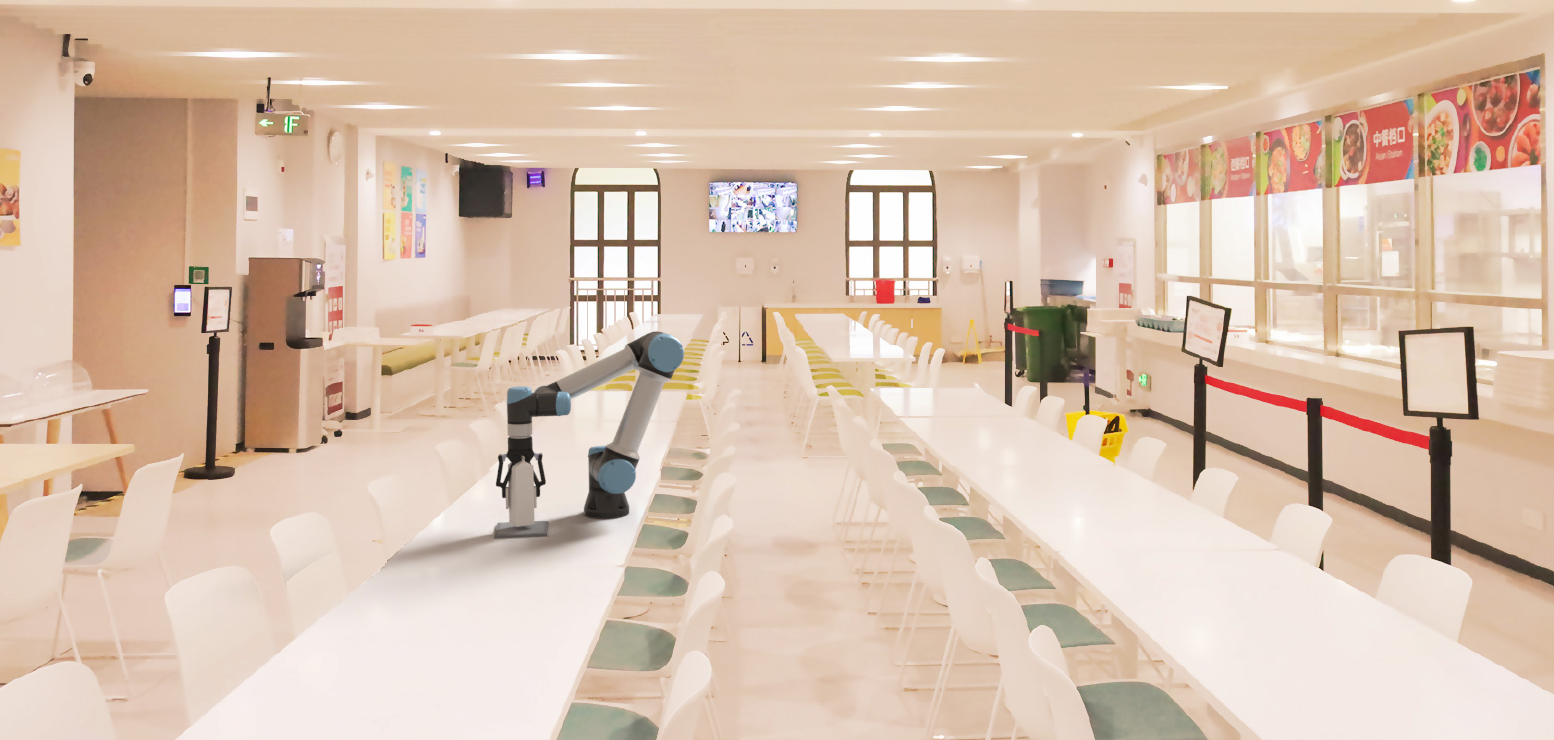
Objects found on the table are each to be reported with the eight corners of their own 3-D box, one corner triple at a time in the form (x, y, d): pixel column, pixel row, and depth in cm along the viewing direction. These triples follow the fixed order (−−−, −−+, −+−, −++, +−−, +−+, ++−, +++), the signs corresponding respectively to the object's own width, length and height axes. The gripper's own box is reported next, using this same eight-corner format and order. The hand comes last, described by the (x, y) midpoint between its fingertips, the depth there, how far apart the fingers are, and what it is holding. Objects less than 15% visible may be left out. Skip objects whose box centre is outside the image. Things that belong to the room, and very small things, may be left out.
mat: (548, 523, 352) (548, 520, 352) (547, 536, 336) (547, 533, 336) (497, 525, 349) (497, 522, 349) (494, 538, 333) (494, 535, 333)
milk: (516, 527, 338) (515, 457, 335) (508, 523, 343) (507, 454, 340) (535, 524, 342) (533, 455, 339) (527, 520, 346) (525, 452, 344)
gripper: (554, 433, 344) (555, 503, 347) (486, 435, 341) (488, 505, 343) (553, 437, 337) (554, 509, 340) (484, 439, 333) (486, 511, 336)
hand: (521, 507), depth 342 cm, fingers closed on milk, 8 cm apart
